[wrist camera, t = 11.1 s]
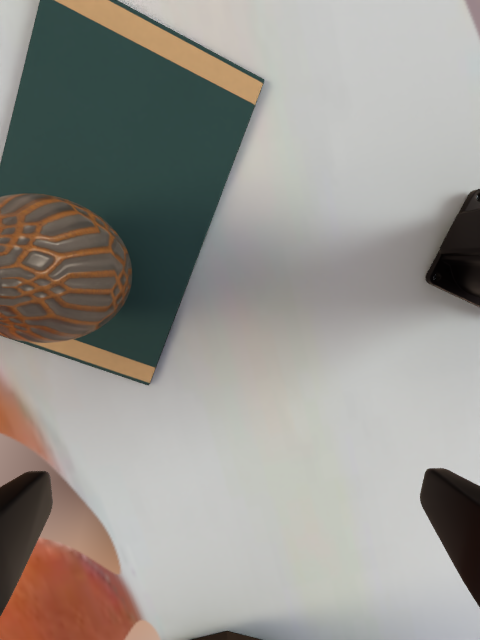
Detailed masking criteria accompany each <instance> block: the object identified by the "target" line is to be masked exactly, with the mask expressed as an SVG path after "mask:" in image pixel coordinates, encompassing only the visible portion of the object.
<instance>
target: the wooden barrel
mask: <svg viewBox="0 0 480 640" xmlns="http://www.w3.org/2000/svg"><path fill="white" fill-rule="evenodd" d="M192 640H261V639H257V638H253V637H249V636H245V635H241V634H237V633H233V632H229V631H225V632H221V633H217V634H213V635H209V636H205V637H201V638H197V639H192Z"/></svg>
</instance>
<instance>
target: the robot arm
mask: <svg viewBox="0 0 480 640" xmlns="http://www.w3.org/2000/svg"><path fill="white" fill-rule="evenodd" d="M477 195H478V200H477V199H476V196H477ZM435 274H436V279H435V280H434V278H433V277H434V275H435ZM426 281H427V283H429V284H431V285H433V286H435V287H437V288H439V289H441V290H444V291H446V292H448V293H450V294H452V295H454V296H456V297H459V298H461V299H463V300H465V301H467V302H469V303H472V304H474V305H476V306H478V307H480V189H478V190H474V191H472V192H470V194H469V195H468V197H467V199H466V201H465V202H464V204H463V206H462V208H461V210H460V212H459V214H458V215H457V217H456V218H455V220H454V222H453V224H452V226H451V228H450V230H449V232H448V234H447V236H446V237H445V239H444V241H443V243H442V245H441V247H440V250H439V252H438V254H437V255H436V257H435V259H434V261H433V263H432V265H431V267H430V269H429V271H428V273H427V275H426ZM420 501H421V504H422V507H423V509H424V511H425V513H426V515H427V516H428V518H429V520H430V522H431V524H432V526H433V527H434V529H435V531H436V533H437V535H438V536H439V538H440V540H441V542H442V544H443V546H444V547H445V549H446V551H447V553H448V555H449V557H450V558H451V560H452V562H453V564H454V566H455V568H456V569H457V571H458V573H459V575H460V576H461V578H462V580H463V582H464V583H465V585H466V586H467V588H468V590H469V591H470V593H471V595H472V596H473V598H474V599H475V601H476V602H477V604H478V605H479V607H480V486H478V485H476V484H474V483H472V482H470V481H468V480H467V479H465V478H463V477H461V476H459V475H457V474H455V473H453V472H451V471H449V470H447V469H443V468H430V469H427V471H426V472H425V475H424V479H423V484H422V489H421V493H420ZM52 503H53V500H52V490H51V480H50V475H49V473H48V472H46V471H29V472H26V473H24V474H22V475H20V476H19V477H17V478H15V479H14V480H12V481H10V482H8V483H7V484H5V485H3V486H2V487H0V616H1V614H2V612H3V610H4V609H5V607H6V605H7V603H8V601H9V599H10V597H11V595H12V593H13V591H14V589H15V587H16V585H17V583H18V581H19V579H20V577H21V575H22V573H23V570H24V568H25V566H26V564H27V562H28V560H29V558H30V555H31V553H32V551H33V549H34V547H35V545H36V543H37V541H38V538H39V536H40V534H41V532H42V530H43V527H44V526H45V523H46V521H47V519H48V517H49V515H50V512H51V509H52Z"/></svg>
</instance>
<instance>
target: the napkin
mask: <svg viewBox="0 0 480 640" xmlns="http://www.w3.org/2000/svg"><path fill="white" fill-rule="evenodd" d="M263 83H264V79H262V78H260V77H258V76H257V75H255V74H253V73H251V72H249V71H247V70H245V69H244V68H242V67H240V66H238V65H236V64H234V63H232V62H231V61H229V60H227V59H225V58H223V57H221V56H219V55H218V54H216V53H214V52H212V51H210V50H208V49H206V48H205V47H203V46H201V45H199V44H197V43H195V42H193V41H192V40H190V39H188V38H186V37H184V36H182V35H180V34H179V33H177V32H175V31H173V30H171V29H169V28H167V27H166V26H164V25H162V24H160V23H158V22H156V21H154V20H153V19H151V18H149V17H147V16H145V15H143V14H141V13H140V12H138V11H136V10H134V9H132V8H130V7H128V6H127V5H125V4H123V3H121V2H119V1H117V0H40V2H39V6H38V11H37V15H36V19H35V23H34V27H33V31H32V35H31V40H30V44H29V48H28V52H27V56H26V60H25V64H24V69H23V73H22V77H21V81H20V85H19V89H18V94H17V98H16V102H15V106H14V110H13V114H12V118H11V123H10V127H9V131H8V135H7V139H6V143H5V147H4V152H3V156H2V160H1V164H0V197H1V196H6V195H14V194H30V193H32V194H44V195H51V196H55V197H60V198H63V199H66V200H69V201H72V202H74V203H77V204H79V205H81V206H83V207H85V208H87V209H89V210H90V211H92V212H94V213H95V214H97V215H98V216H100V217H101V218H102V219H104V220H105V221H106V222H107V223H108V224H109V225H110V226H111V227H112V228H113V229H114V230H115V231H116V233H117V234H118V235H119V237H120V238H121V240H122V241H123V243H124V245H125V247H126V249H127V251H128V254H129V257H130V261H131V266H132V283H131V288H130V292H129V294H128V297H127V299H126V301H125V303H124V305H123V306H122V308H121V309H120V311H119V312H118V313H117V314H116V315H115V316H114V317H113V318H112V319H111V320H110V321H108V322H107V323H106V324H105V325H103V326H102V327H100V328H99V329H97V330H95V331H93V332H91V333H89V334H87V335H85V336H82V337H79V338H76V339H72V340H68V341H61V342H51V343H36V342H25V341H20V340H15V339H12V340H15V341H18V342H21V343H24V344H27V345H30V346H33V347H36V348H39V349H42V350H45V351H48V352H51V353H54V354H57V355H60V356H63V357H66V358H69V359H72V360H75V361H78V362H80V363H83V364H86V365H89V366H92V367H95V368H98V369H101V370H104V371H107V372H110V373H113V374H116V375H119V376H122V377H125V378H128V379H131V380H134V381H137V382H140V383H143V384H146V385H149V384H150V381H151V379H152V376H153V373H154V371H155V368H156V366H157V363H158V360H159V358H160V355H161V352H162V350H163V347H164V344H165V342H166V339H167V336H168V334H169V331H170V329H171V326H172V323H173V321H174V318H175V315H176V313H177V310H178V307H179V305H180V302H181V299H182V297H183V294H184V292H185V289H186V286H187V284H188V281H189V278H190V276H191V273H192V270H193V268H194V265H195V263H196V260H197V257H198V255H199V252H200V249H201V247H202V244H203V241H204V239H205V236H206V233H207V231H208V228H209V226H210V223H211V220H212V218H213V215H214V212H215V210H216V207H217V204H218V202H219V199H220V197H221V194H222V191H223V189H224V186H225V183H226V181H227V178H228V175H229V173H230V170H231V167H232V165H233V162H234V160H235V157H236V154H237V152H238V149H239V146H240V144H241V141H242V138H243V136H244V133H245V131H246V128H247V125H248V123H249V120H250V117H251V115H252V112H253V109H254V107H255V104H256V101H257V99H258V96H259V94H260V91H261V88H262V86H263ZM0 336H2V335H0ZM3 337H4V336H3ZM6 338H7V337H6ZM9 339H11V338H9Z"/></svg>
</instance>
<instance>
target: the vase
mask: <svg viewBox="0 0 480 640" xmlns="http://www.w3.org/2000/svg"><path fill="white" fill-rule="evenodd" d="M131 283H132V266H131V261H130V257H129V254H128V251H127V249H126V247H125V245H124V243H123V241H122V240H121V238H120V237H119V235H118V234H117V233H116V231H115V230H114V229H113V228H112V227H111V226H110V225H109V224H108V223H107V222H106V221H105V220H104V219H102V218H101V217H100V216H98V215H97V214H95V213H94V212H92V211H90V210H89V209H87V208H85V207H83V206H81V205H79V204H77V203H74V202H72V201H69V200H66V199H63V198H60V197H55V196H51V195H44V194H32V193H30V194H14V195H6V196H1V197H0V335H2V336H4V337H7V338H11V339H15V340H20V341H25V342H36V343H51V342H61V341H68V340H72V339H76V338H79V337H82V336H85V335H87V334H89V333H91V332H93V331H95V330H97V329H99V328H100V327H102V326H103V325H105V324H106V323H107V322H108V321H110V320H111V319H112V318H113V317H114V316H115V315H116V314H117V313H118V312H119V311H120V309H121V308H122V306H123V305H124V303H125V301H126V299H127V297H128V294H129V292H130V288H131Z"/></svg>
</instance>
